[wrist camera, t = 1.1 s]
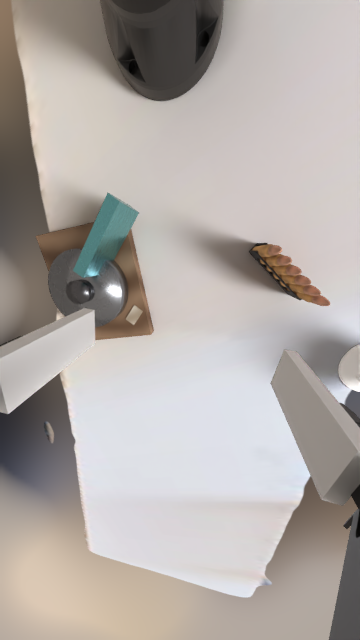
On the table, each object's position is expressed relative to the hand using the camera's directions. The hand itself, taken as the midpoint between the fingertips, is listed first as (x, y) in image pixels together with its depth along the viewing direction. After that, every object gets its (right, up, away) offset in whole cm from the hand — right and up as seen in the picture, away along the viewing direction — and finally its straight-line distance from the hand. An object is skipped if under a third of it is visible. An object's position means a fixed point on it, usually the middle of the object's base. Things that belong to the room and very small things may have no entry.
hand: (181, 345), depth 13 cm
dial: (-14, +11, +22) cm, 28 cm away
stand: (-16, +9, +26) cm, 32 cm away
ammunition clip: (+16, +11, +20) cm, 28 cm away
